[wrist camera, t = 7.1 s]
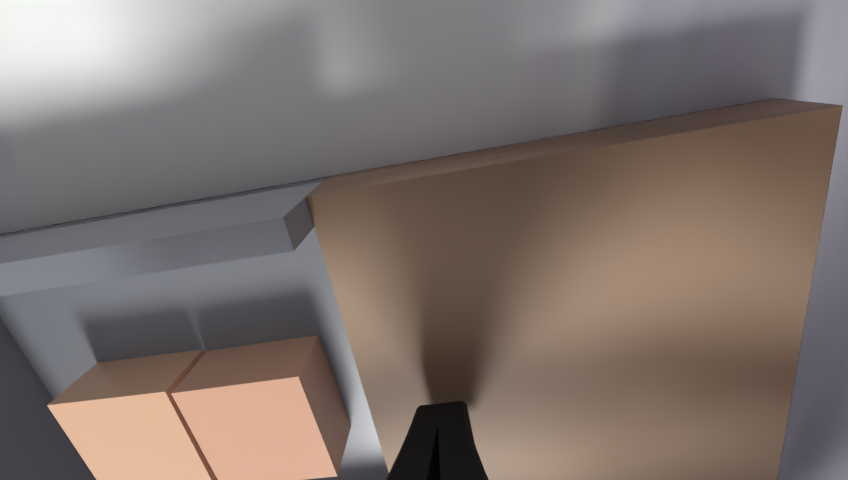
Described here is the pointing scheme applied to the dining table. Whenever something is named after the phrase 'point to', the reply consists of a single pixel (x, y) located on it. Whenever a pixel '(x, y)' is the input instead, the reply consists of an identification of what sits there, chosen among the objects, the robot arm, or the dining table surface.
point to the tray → (163, 310)
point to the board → (591, 291)
